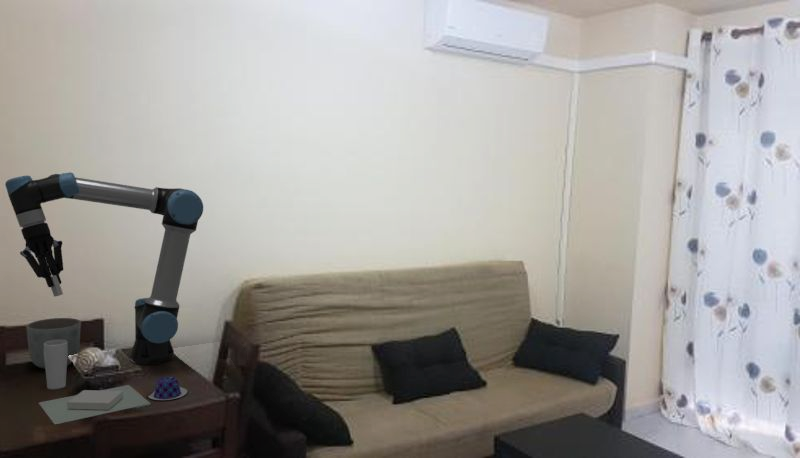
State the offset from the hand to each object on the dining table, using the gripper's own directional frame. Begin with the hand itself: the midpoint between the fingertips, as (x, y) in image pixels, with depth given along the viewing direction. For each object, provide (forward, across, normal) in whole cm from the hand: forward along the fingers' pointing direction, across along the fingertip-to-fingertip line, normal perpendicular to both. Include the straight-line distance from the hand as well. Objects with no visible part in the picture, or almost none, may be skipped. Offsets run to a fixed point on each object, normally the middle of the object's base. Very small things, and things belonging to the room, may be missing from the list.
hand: (58, 295), depth 201 cm
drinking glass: (+28, +7, -7) cm, 30 cm away
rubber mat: (+34, +9, +15) cm, 38 cm away
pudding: (+40, -8, +25) cm, 48 cm away
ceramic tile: (+30, +12, +12) cm, 35 cm away
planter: (+25, -6, -28) cm, 38 cm away
